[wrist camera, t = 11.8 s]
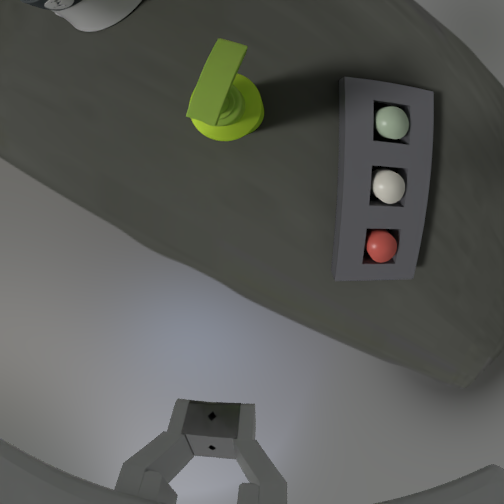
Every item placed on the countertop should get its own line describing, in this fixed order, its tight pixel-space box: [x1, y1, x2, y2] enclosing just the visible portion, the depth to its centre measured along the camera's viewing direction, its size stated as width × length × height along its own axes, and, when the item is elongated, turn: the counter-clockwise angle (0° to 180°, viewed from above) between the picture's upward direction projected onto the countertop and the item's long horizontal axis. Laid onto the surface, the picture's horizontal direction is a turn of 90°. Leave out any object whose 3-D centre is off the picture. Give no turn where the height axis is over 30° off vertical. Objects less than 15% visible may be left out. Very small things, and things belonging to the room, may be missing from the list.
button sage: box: [373, 106, 409, 139], centre depth 31 cm, size 4×4×3 cm
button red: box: [364, 229, 397, 263], centre depth 37 cm, size 4×4×3 cm
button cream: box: [370, 168, 405, 204], centre depth 34 cm, size 4×4×3 cm
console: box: [331, 77, 434, 281], centre depth 34 cm, size 26×12×3 cm, turn 2°
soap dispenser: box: [186, 38, 264, 141], centre depth 24 cm, size 6×7×20 cm
